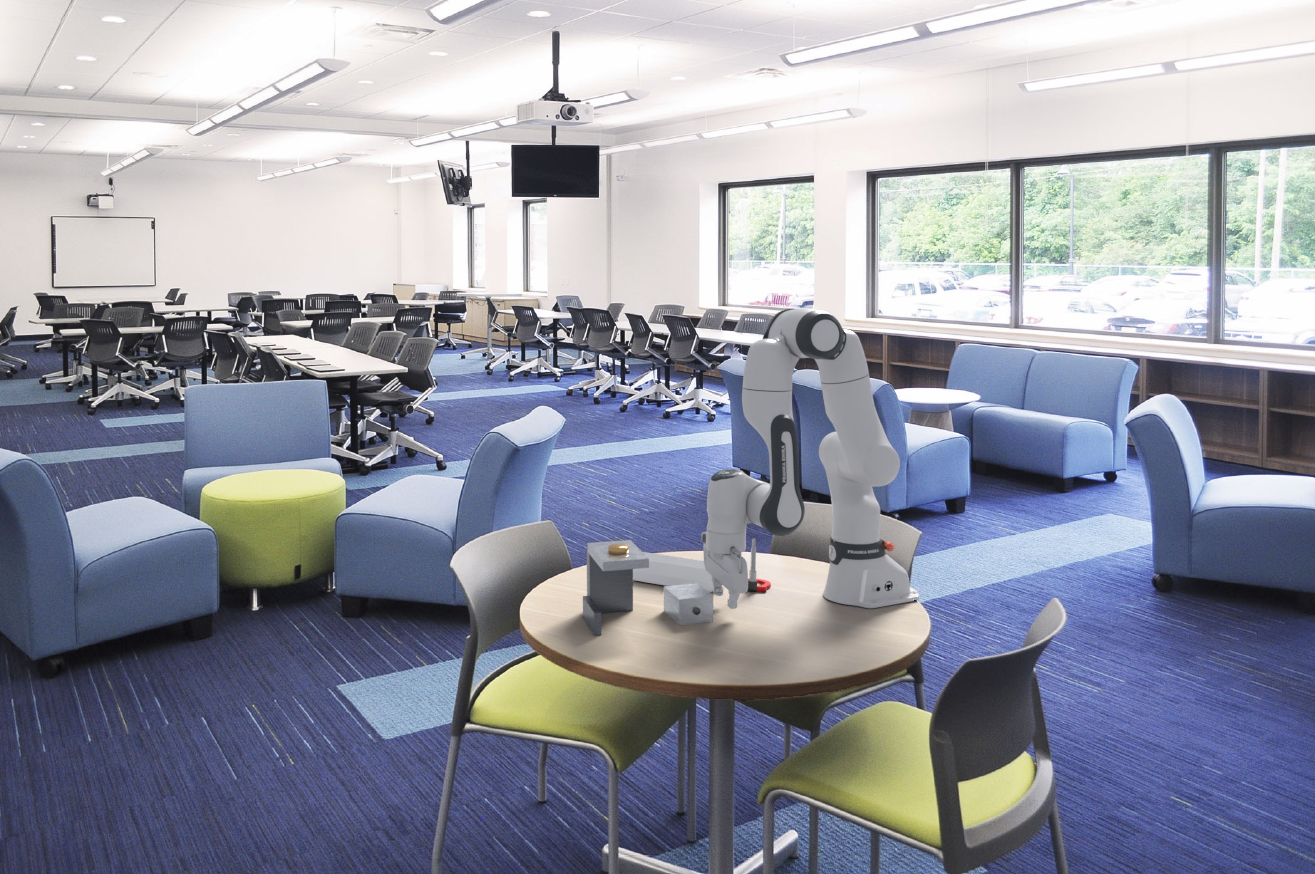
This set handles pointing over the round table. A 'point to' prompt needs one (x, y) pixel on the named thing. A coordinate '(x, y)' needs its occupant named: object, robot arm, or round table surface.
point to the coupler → (610, 579)
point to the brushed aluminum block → (688, 603)
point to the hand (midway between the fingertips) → (725, 601)
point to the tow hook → (752, 574)
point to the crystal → (674, 572)
